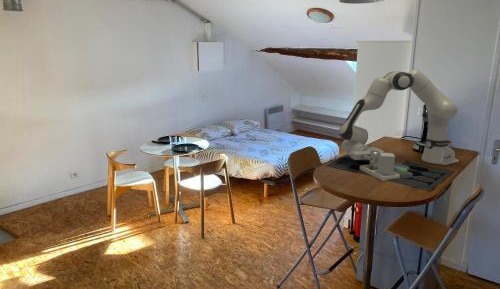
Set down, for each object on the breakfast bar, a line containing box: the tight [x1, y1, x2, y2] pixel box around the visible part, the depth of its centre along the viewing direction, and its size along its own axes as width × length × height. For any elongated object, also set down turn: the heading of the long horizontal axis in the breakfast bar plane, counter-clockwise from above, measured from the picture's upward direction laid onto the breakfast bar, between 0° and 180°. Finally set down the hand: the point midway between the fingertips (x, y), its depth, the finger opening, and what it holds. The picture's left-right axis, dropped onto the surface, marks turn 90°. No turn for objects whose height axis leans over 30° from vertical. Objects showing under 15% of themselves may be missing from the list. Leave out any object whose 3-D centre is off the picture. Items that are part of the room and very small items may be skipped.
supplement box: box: [378, 152, 396, 176], centre depth 212 cm, size 7×7×13 cm
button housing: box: [394, 170, 414, 180], centre depth 213 cm, size 7×7×3 cm
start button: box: [399, 168, 408, 174], centre depth 213 cm, size 4×4×4 cm
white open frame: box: [359, 164, 401, 182], centre depth 218 cm, size 21×11×2 cm, turn 20°
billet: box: [368, 151, 380, 170], centre depth 221 cm, size 5×5×11 cm
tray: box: [394, 163, 410, 171], centre depth 227 cm, size 8×8×2 cm
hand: (375, 158), depth 220 cm, fingers closed on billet, 5 cm apart
